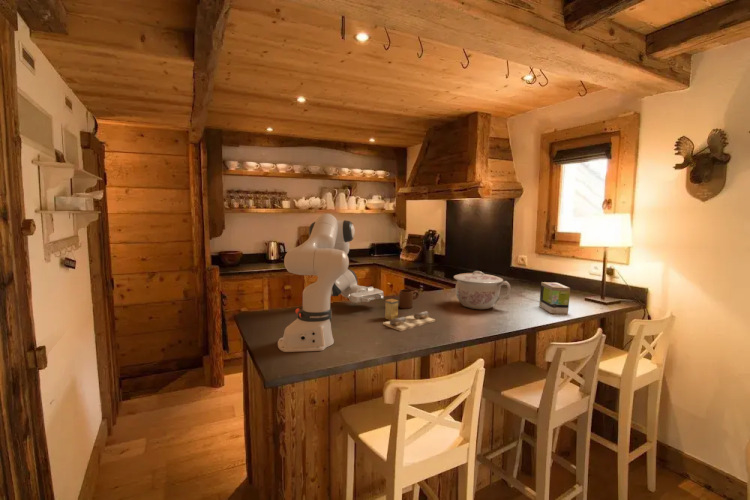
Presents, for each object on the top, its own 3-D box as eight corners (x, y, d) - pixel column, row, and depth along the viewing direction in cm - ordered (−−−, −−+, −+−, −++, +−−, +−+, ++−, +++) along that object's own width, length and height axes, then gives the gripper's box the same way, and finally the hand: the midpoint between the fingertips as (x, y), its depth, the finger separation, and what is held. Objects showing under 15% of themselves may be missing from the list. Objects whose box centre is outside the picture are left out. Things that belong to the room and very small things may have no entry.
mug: (414, 304, 216) (415, 288, 215) (421, 307, 209) (422, 291, 208) (396, 306, 211) (396, 289, 210) (402, 309, 204) (403, 292, 203)
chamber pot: (442, 302, 220) (444, 268, 218) (479, 298, 232) (481, 266, 229) (473, 315, 195) (475, 277, 192) (513, 310, 206) (515, 273, 204)
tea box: (568, 314, 202) (571, 287, 200) (550, 313, 202) (552, 287, 200) (556, 306, 216) (558, 281, 215) (538, 306, 217) (540, 281, 215)
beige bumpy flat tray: (400, 331, 168) (400, 323, 168) (383, 324, 178) (383, 316, 177) (435, 321, 184) (435, 313, 184) (417, 315, 193) (417, 308, 193)
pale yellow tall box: (391, 320, 184) (391, 301, 183) (385, 318, 187) (385, 299, 186) (397, 318, 187) (398, 300, 186) (391, 316, 190) (392, 298, 189)
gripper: (344, 291, 199) (360, 296, 189) (373, 285, 212) (390, 290, 202) (344, 302, 200) (360, 308, 189) (373, 296, 213) (389, 301, 203)
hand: (376, 299), depth 196 cm, fingers open, 8 cm apart
